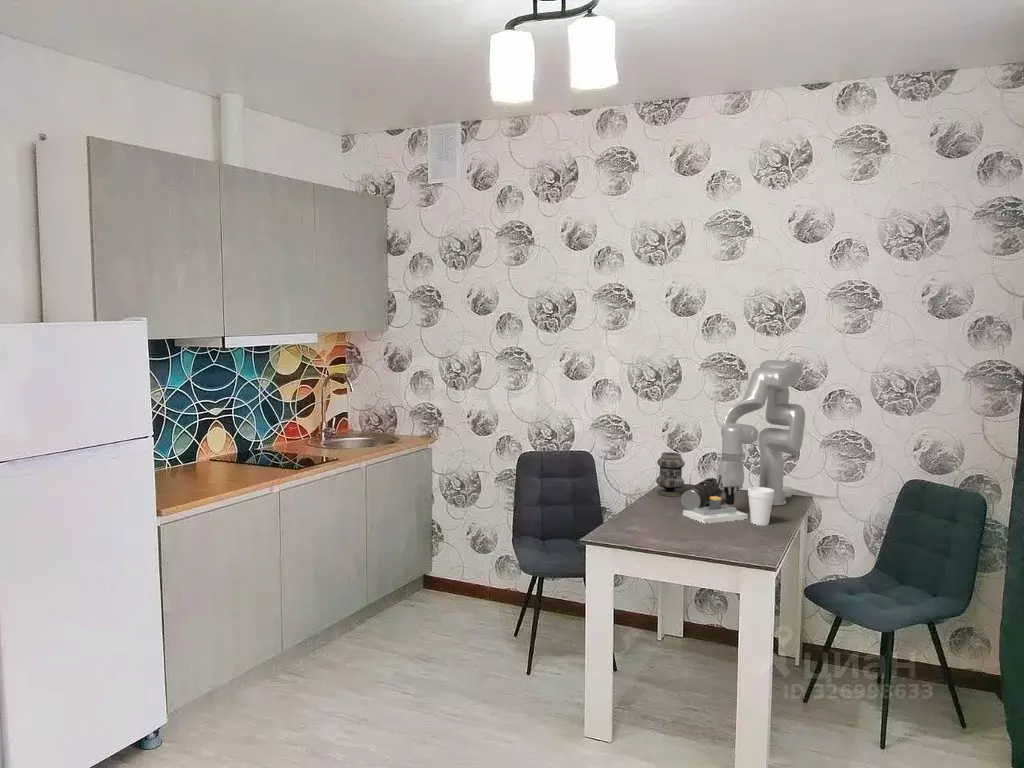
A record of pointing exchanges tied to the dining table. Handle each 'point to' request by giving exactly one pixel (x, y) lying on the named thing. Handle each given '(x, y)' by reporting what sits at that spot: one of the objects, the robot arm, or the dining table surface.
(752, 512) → the foam cup
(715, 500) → the breaker lever
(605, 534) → the dining table surface
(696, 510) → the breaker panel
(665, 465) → the apothecary jar
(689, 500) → the muzzle brake
